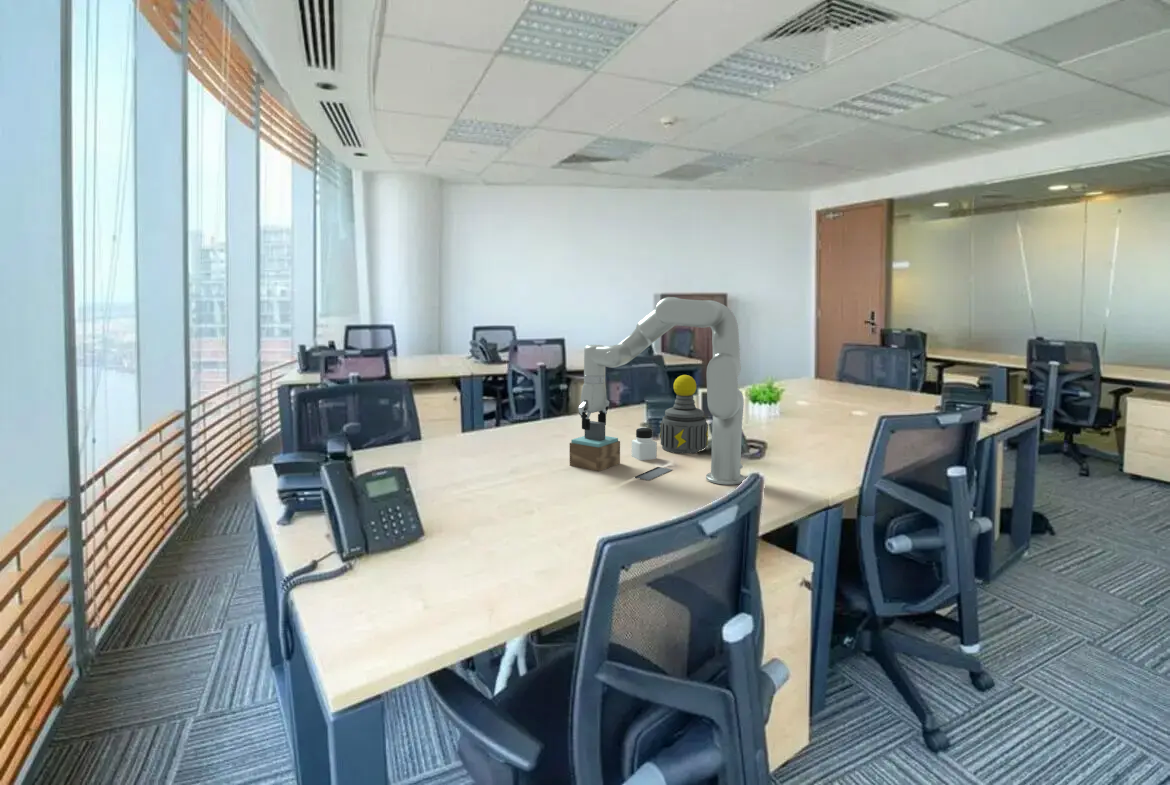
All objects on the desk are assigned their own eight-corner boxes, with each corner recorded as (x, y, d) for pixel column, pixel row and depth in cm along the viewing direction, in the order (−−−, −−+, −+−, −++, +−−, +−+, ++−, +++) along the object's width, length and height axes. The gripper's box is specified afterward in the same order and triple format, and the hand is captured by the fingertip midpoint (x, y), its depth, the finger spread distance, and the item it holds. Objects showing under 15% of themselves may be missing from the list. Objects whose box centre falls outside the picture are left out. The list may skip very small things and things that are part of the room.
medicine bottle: (656, 460, 232) (657, 429, 230) (639, 462, 229) (639, 430, 228) (648, 456, 238) (648, 425, 237) (631, 458, 236) (631, 427, 234)
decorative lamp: (656, 452, 244) (657, 376, 240) (664, 442, 262) (665, 371, 258) (704, 455, 239) (706, 378, 234) (709, 444, 257) (711, 372, 252)
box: (591, 459, 233) (591, 436, 232) (619, 465, 225) (620, 441, 224) (569, 467, 223) (569, 443, 222) (599, 473, 215) (599, 448, 214)
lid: (591, 436, 231) (591, 418, 230) (618, 441, 224) (618, 421, 223) (571, 442, 222) (571, 423, 221) (598, 447, 215) (598, 427, 213)
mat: (633, 463, 228) (633, 462, 228) (672, 470, 219) (672, 469, 219) (609, 472, 216) (609, 472, 216) (648, 480, 206) (648, 479, 206)
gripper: (600, 376, 229) (599, 422, 231) (571, 381, 215) (570, 429, 218) (617, 378, 224) (616, 424, 227) (588, 383, 211) (587, 432, 213)
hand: (594, 427), depth 222 cm, fingers open, 9 cm apart
